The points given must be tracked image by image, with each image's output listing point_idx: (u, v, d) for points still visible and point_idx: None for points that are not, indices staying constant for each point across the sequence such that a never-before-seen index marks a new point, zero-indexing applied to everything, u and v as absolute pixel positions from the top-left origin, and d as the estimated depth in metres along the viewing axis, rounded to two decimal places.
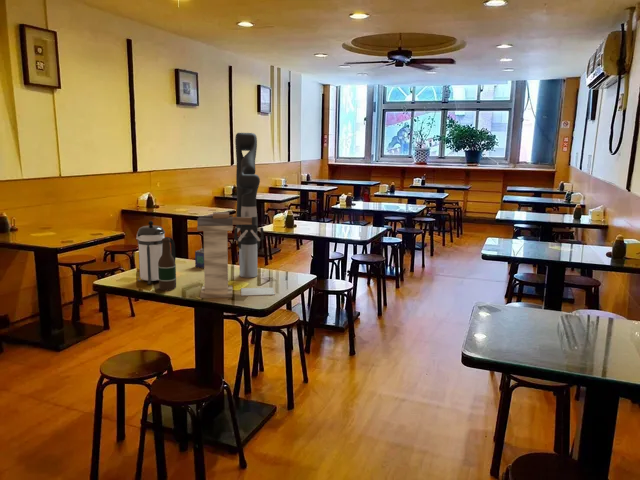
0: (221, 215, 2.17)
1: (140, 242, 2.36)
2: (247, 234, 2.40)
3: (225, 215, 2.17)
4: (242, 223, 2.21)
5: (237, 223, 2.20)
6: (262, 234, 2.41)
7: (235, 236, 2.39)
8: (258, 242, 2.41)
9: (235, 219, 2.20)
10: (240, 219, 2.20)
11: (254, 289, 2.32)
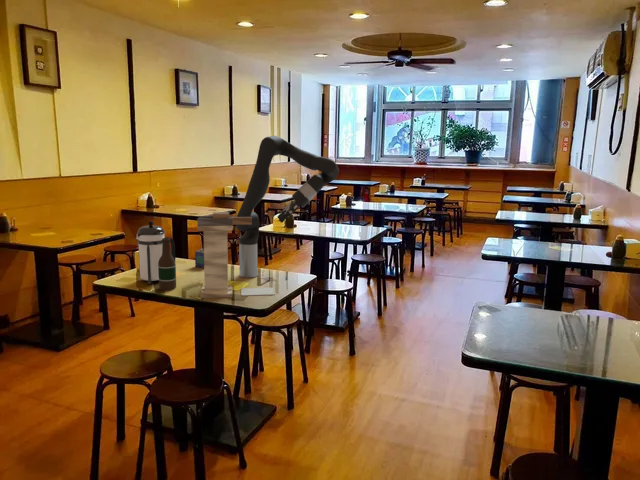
0: (221, 215, 2.17)
1: (140, 242, 2.36)
2: None
3: (225, 215, 2.17)
4: (242, 223, 2.21)
5: (237, 223, 2.20)
6: None
7: None
8: None
9: (235, 219, 2.20)
10: (240, 219, 2.20)
11: (254, 289, 2.32)
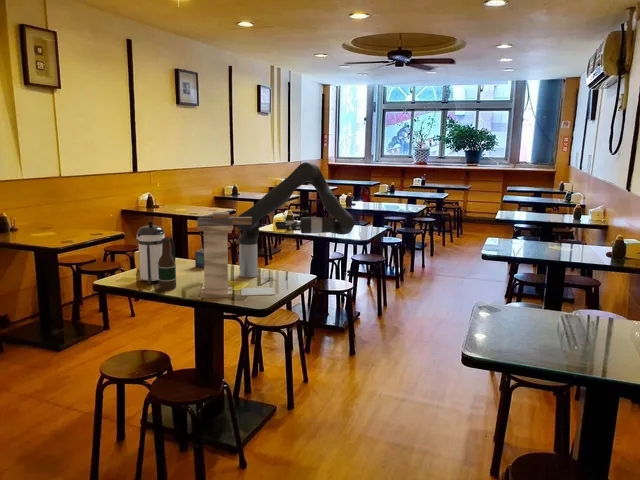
0: (221, 215, 2.17)
1: (140, 242, 2.36)
2: None
3: (225, 215, 2.17)
4: (242, 223, 2.21)
5: (237, 223, 2.20)
6: None
7: None
8: None
9: (235, 219, 2.20)
10: (240, 219, 2.20)
11: (254, 289, 2.32)
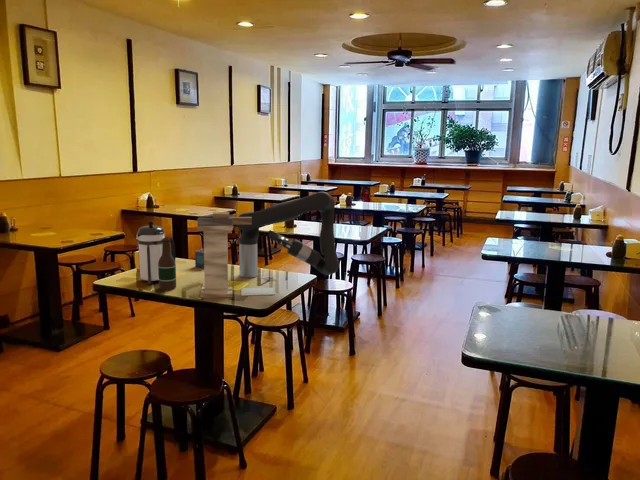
0: (221, 215, 2.17)
1: (140, 242, 2.36)
2: None
3: (225, 215, 2.17)
4: (242, 223, 2.21)
5: (237, 223, 2.20)
6: None
7: None
8: None
9: (235, 219, 2.20)
10: (240, 219, 2.20)
11: (254, 289, 2.32)
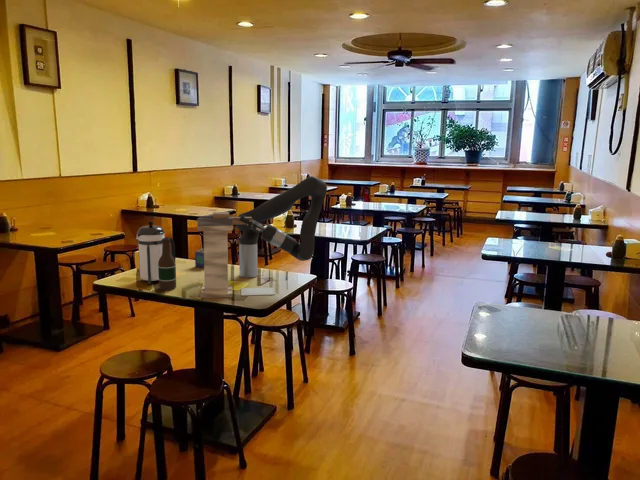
0: (221, 215, 2.17)
1: (140, 242, 2.36)
2: None
3: (225, 215, 2.17)
4: (242, 223, 2.21)
5: (237, 223, 2.21)
6: None
7: None
8: None
9: (235, 219, 2.20)
10: None
11: (254, 289, 2.32)
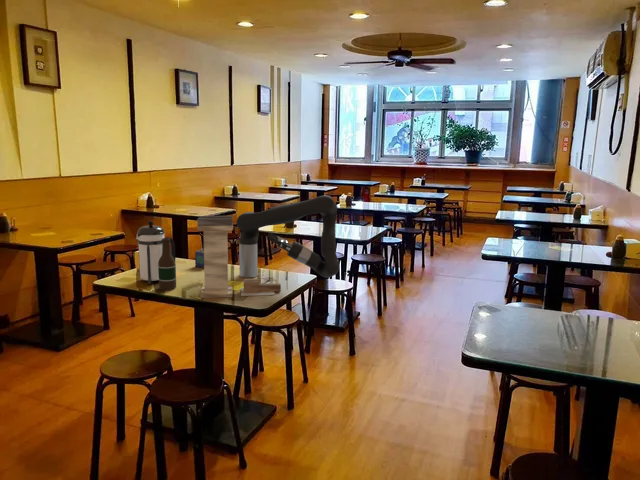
0: (251, 283, 2.26)
1: (140, 242, 2.36)
2: None
3: (255, 283, 2.26)
4: (271, 290, 2.29)
5: (267, 290, 2.29)
6: None
7: (280, 247, 2.21)
8: None
9: (265, 286, 2.29)
10: (269, 286, 2.29)
11: None
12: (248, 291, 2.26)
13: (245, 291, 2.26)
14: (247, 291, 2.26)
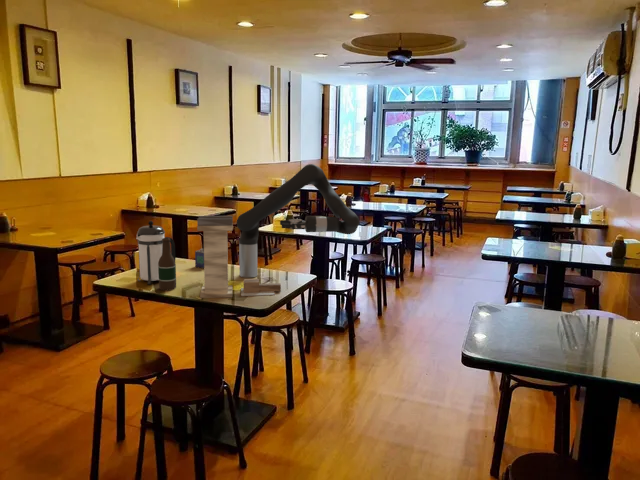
0: (251, 283, 2.26)
1: (140, 242, 2.36)
2: None
3: (255, 283, 2.26)
4: (271, 290, 2.29)
5: (267, 290, 2.29)
6: None
7: None
8: None
9: (265, 286, 2.29)
10: (269, 286, 2.29)
11: None
12: (248, 291, 2.26)
13: (245, 291, 2.26)
14: (247, 291, 2.26)
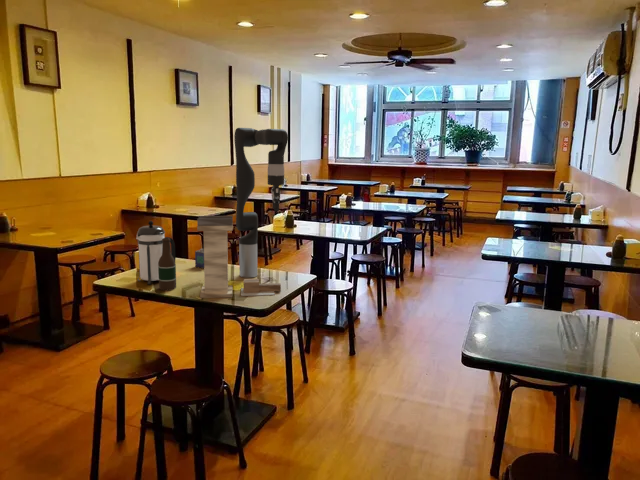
0: (251, 283, 2.26)
1: (140, 242, 2.36)
2: None
3: (255, 283, 2.26)
4: (271, 290, 2.29)
5: (267, 290, 2.29)
6: None
7: (279, 197, 2.18)
8: None
9: (265, 286, 2.29)
10: (269, 286, 2.29)
11: None
12: (248, 291, 2.26)
13: (245, 291, 2.26)
14: (247, 291, 2.26)
